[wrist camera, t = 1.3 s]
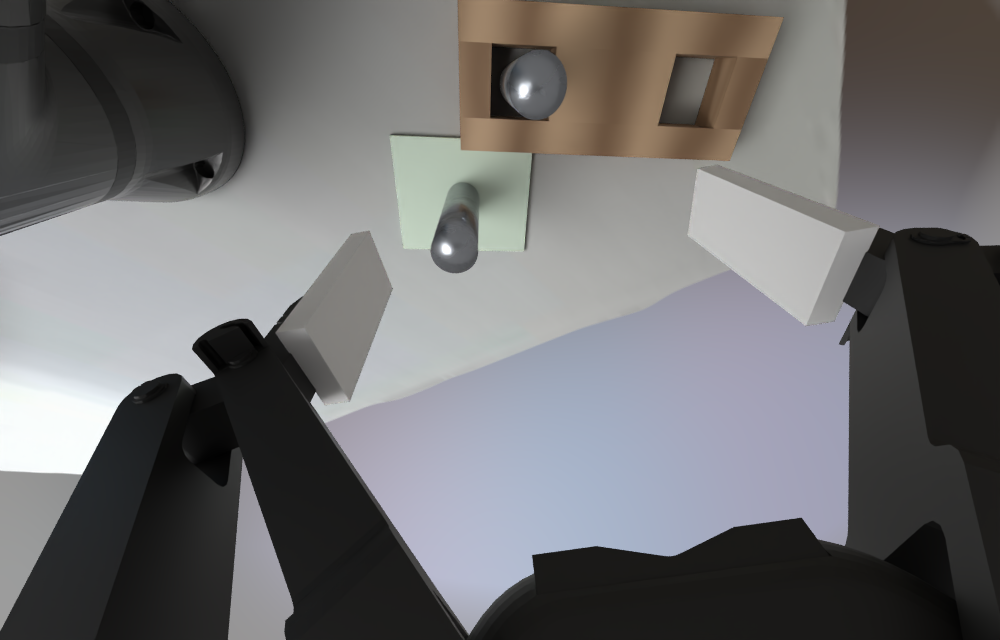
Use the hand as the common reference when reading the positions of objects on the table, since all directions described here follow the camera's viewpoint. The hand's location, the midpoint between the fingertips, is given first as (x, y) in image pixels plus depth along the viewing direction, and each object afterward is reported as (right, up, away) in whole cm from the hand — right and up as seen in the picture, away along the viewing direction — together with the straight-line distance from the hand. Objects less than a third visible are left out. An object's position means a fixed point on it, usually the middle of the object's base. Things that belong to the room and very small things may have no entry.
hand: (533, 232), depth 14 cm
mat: (-5, +8, +18) cm, 20 cm away
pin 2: (0, +15, +13) cm, 20 cm away
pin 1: (-5, +8, +18) cm, 20 cm away
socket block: (+7, +15, +14) cm, 21 cm away
